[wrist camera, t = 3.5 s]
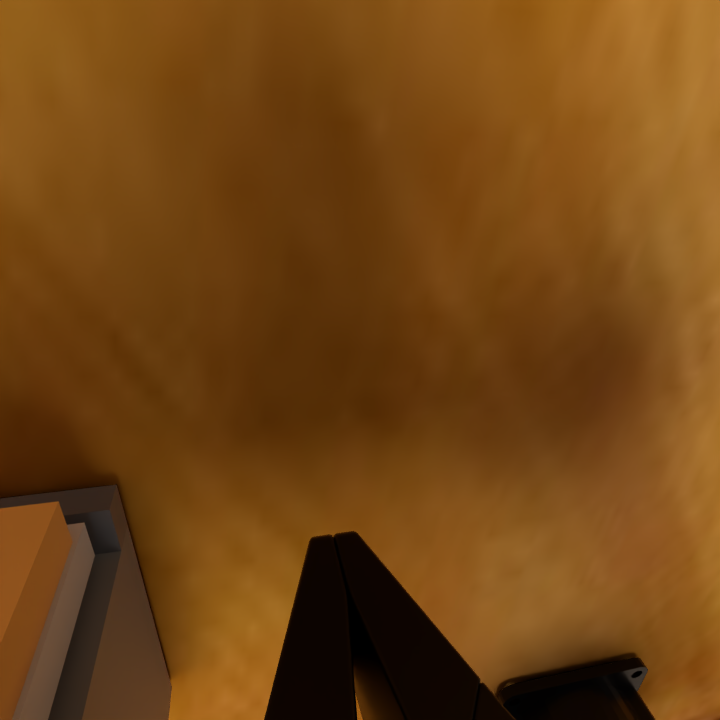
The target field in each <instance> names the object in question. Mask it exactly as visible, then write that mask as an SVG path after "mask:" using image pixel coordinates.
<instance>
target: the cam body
mask: <svg viewBox="0 0 720 720" xmlns="http://www.w3.org/2000/svg"><path fill="white" fill-rule="evenodd" d="M57 501H59V504H60V507H61V510H62V513H63V516H64V518H65V521H66V524H67V525H69V524H77V523H85V526H86V529H87V533H88V536H89V539H90V542H91V545H92V548H93V551H94V554H95V557H94V561H93V564H92V568H91V571H90V575H89V578H88V582H87V585H86V589H85V592H84V595H83V599H82V602H81V606H80V609H79V613H78V616H77V620H76V623H75V627H74V630H73V634H72V637H71V641H70V644H69V648H68V651H67V655H66V658H65V662H64V665H63V669H62V672H61V676H60V679H59V683H58V686H57V690H56V693H55V697H54V700H53V704H52V707H51V711H50V714H49V718H48V720H168V718H169V708H170V698H171V688H172V686H171V683H170V679H169V675H168V672H167V668H166V664H165V661H164V657H163V653H162V650H161V646H160V642H159V639H158V635H157V631H156V628H155V624H154V620H153V616H152V613H151V609H150V605H149V602H148V598H147V594H146V591H145V587H144V583H143V580H142V576H141V572H140V569H139V565H138V561H137V558H136V554H135V550H134V547H133V543H132V539H131V536H130V532H129V528H128V525H127V521H126V517H125V514H124V510H123V506H122V503H121V499H120V495H119V492H118V488H117V485H109V486H101V487H92V488H84V489H75V490H67V491H59V492H50V493H42V494H34V495H25V496H17V497H9V498H0V508H8V507H17V506H25V505H33V504H41V503H49V502H57Z"/></svg>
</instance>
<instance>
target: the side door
mask: <svg viewBox="0 0 720 720" xmlns="http://www.w3.org/2000/svg"><path fill="white" fill-rule="evenodd" d="M94 557H95V554H94V551H93V548H92V545H91V542H90V539H89V536H88V533H87V529H86V526H85V523H77V524H69V525H67V524H66V521H65V518H64V516H63V513H62V510H61V507H60V504H59V501H57V502H49V503H41V504H33V505H25V506H17V507H8V508H0V720H48V718H49V714H50V711H51V707H52V704H53V700H54V697H55V693H56V690H57V686H58V683H59V679H60V676H61V672H62V669H63V665H64V662H65V658H66V655H67V651H68V648H69V644H70V641H71V637H72V634H73V630H74V627H75V623H76V620H77V616H78V613H79V609H80V606H81V602H82V599H83V595H84V592H85V589H86V585H87V582H88V578H89V575H90V571H91V568H92V564H93V561H94Z"/></svg>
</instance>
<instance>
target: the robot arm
mask: <svg viewBox="0 0 720 720" xmlns="http://www.w3.org/2000/svg"><path fill="white" fill-rule="evenodd" d="M647 671H648V669H647V668H646V666H645V665H644V663H643V662H642V660H641V659H640V658H631V659H626V660H622V661H617V662H613V663H608V664H604V665H599V666H595V667H590V668H586V669H581V670H577V671H572V672H567V673H563V674H558V675H554V676H549V677H545V678H540V679H536V680H531V681H527V682H522V683H518V684H513V685H510V686H507V687H505V688H504V689H502V690H501V691H500V693H499V695H498V698H496V697H495V695H494V694H493V693H492V692H491V691H490V689H489V688H488V687H487V686H486V685H485V684H484V683H480V678H479V677H478V676H477V674H476V673H475V672H474V671H473V670H472V668H471V667H470V666H469V665H468V664H467V662H466V661H465V660H464V659H463V658H462V657H461V655H460V654H459V653H458V652H457V651H456V649H455V648H454V647H453V646H452V645H451V644H450V642H449V641H448V640H447V639H446V638H445V636H444V635H443V634H442V633H441V632H440V630H439V629H438V628H437V627H436V626H435V625H434V623H433V622H432V621H431V620H430V619H429V617H428V616H427V615H426V614H425V613H424V611H423V610H422V609H421V608H420V607H419V606H418V604H417V603H416V602H415V601H414V600H413V598H412V597H411V596H410V595H409V594H408V593H407V591H406V590H405V589H404V588H403V587H402V585H401V584H400V583H399V582H398V581H397V579H396V578H395V577H394V576H393V575H392V574H391V572H390V571H389V570H388V569H387V568H386V566H385V565H384V564H383V563H382V562H381V561H380V559H379V558H378V557H377V556H376V555H375V553H374V552H373V551H372V550H371V549H370V547H369V546H368V545H367V544H366V543H365V542H364V540H363V539H362V538H361V537H360V536H359V535H358V533H356V532H354V531H350V532H343V533H337V534H335V535H334V537H333V536H332V535H323V536H316V537H312V538H311V539H310V541H309V545H308V548H307V552H306V556H305V560H304V564H303V568H302V572H301V576H300V580H299V584H298V588H297V592H296V596H295V600H294V604H293V608H292V612H291V616H290V620H289V624H288V628H287V632H286V635H285V639H284V643H283V647H282V651H281V655H280V659H279V663H278V667H277V671H276V675H275V679H274V683H273V687H272V691H271V695H270V699H269V703H268V707H267V711H266V714H265V718H264V720H357V711H356V697H355V692H356V696H357V700H358V703H359V707H360V711H361V714H362V718H363V720H655V718H654V717H653V715H652V714H651V712H650V711H649V709H648V708H647V706H646V704H645V703H644V701H643V700H642V698H641V697H640V695H639V694H638V692H637V691H638V689H639V687H640V685H641V683H642V681H643V679H644V677H645V675H646V673H647Z"/></svg>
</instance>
